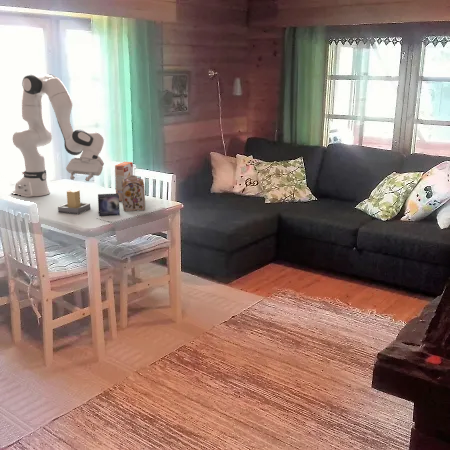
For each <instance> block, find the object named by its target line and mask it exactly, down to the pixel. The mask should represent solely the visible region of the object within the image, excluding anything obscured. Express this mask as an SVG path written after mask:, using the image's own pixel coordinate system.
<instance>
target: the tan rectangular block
mask: <svg viewBox="0 0 450 450" xmlns="http://www.w3.org/2000/svg"><path fill="white" fill-rule="evenodd" d="M66 200H67V203H68V207H70V208H79V207H81V204H80V203H81V190H79V189H70V190H67V191H66Z"/></svg>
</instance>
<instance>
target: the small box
mask: <svg viewBox="0 0 450 450" xmlns="http://www.w3.org/2000/svg"><path fill="white" fill-rule="evenodd" d="M97 205H98V207H97V208H98V212H97V213H98V216H99V217H108V216H109V217H110V216H120V210H121V209H120V201H119V195H118V193H117V194H116V193H102V194H101V193H98V194H97Z"/></svg>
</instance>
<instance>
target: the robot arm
mask: <svg viewBox="0 0 450 450" xmlns="http://www.w3.org/2000/svg"><path fill="white" fill-rule="evenodd" d="M21 85H22V88H23V89H22V95H21V117H22V119H23V120H24V121H25V122H27V125H28V128H27V129H26V128H25V129H21V130H18V131H16V132H14V133H13V134H12V143H13V145H14V146H15V147H16V148H17V149H19V151H20V152H21V154H22V157H23V159H24V165H25V170H24V171H23V172H22V171H21V173H22V175H23V177H22V178H20V180H18V181H17V182H16V183H15V188H14V190H13V191H12V192H13V193H15V194H18V195H17V196H19V195H21V196H20V197H24V198H25V197H26V198H31V197H41V196H46V195H49V194H50V193H51V192H50V190H49V189H50V188H49V186H48V182H47V170H46V163H45V157H44V155H42V154H41V153H40V152H39V151H38V148H39V147H44V146H47V145H48V144H50V143H51V142H52V139H53V138H52V137H53V135H52V132H51V131H50V130H49V129H48V128H47V126H46V125H45V122H44V118H43V116H44V115H43V96H44V95H46V96H47V98H48V100H49V102H50V104H51V106H52V109H53V112H54V114H55V118H56V120H57V121H56V122H57V124H58V127H59V129H60V132H61V134H62V137H63V141H64V142H63V143H64V149H65V151H66V152H67V153H68V154H69V155H72V156H78V155H80V156H79V157H73V158H71V159H70V161H69V162H68V164H67V165H66V167H65V169H66V171H67V172H68V173H69V174H70V177H69V178H70V180H71V181H72V180H73V181H74V179H75V176H74V175H75V174H76V175H87V176H86V177H85V178H84V179H85V180H84V181H85V182H90V180H91V179H92V178H94V176H96V177H98V176H100V175H101V174H102V171H103V168H104V167H103V166H104V164H105V163H104V161H103V159H102V158H101V157H100V156H99V155H100V154H101V151H102V149H103V146H104V142H105V141H104V140H105V139H104V137H103V135H101V134H100V133H99V132H96V131H95V132H93V131H92V132H88V131H85V130H83V129H76V130H74V129H73V125H72V124H71V113H72V110H73V101H72V98H71V95H70V92H68V89H67V88H66V85H65V84H64V83H63V82H62V80H61V79H60V78H59V77H57V76H56V75H54V74H49V73H48V74H46V73H39V74H38V73H37V74H28V75H25V76H24V77H23V78H22V83H21Z"/></svg>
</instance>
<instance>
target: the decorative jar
mask: <svg viewBox="0 0 450 450" xmlns="http://www.w3.org/2000/svg"><path fill="white" fill-rule="evenodd" d="M121 202H122V209H123V211H124V212H137V210H139V211H146V193H145V183H144V179H143V178H140V177H138V175H134V174H133V175H131V176H128V178H126V179H123V180H122V201H121Z"/></svg>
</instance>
